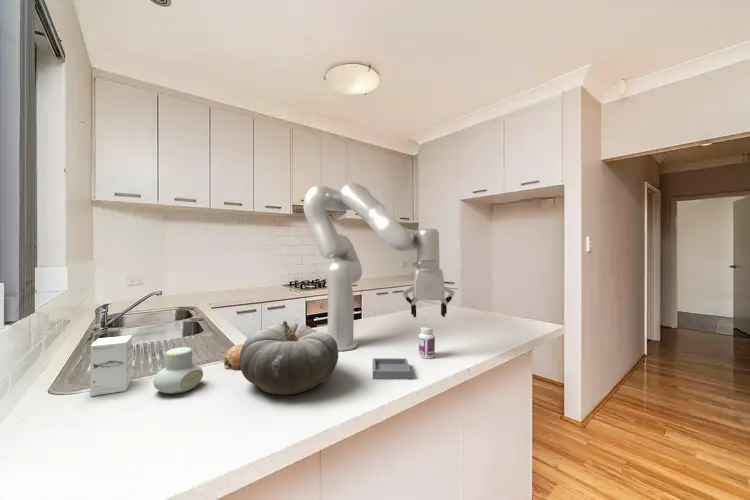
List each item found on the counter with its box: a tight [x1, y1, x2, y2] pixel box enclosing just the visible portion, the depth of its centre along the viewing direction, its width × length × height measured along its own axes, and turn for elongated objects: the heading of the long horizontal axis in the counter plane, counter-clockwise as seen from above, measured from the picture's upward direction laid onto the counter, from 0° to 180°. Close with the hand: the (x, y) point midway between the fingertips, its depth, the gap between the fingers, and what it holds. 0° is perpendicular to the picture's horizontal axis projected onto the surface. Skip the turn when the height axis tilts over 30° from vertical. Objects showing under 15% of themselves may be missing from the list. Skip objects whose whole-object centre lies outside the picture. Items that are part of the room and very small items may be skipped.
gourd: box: [240, 320, 339, 396], centre depth 89 cm, size 25×25×17 cm
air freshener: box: [152, 346, 204, 395], centre depth 85 cm, size 11×8×10 cm
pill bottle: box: [418, 326, 436, 360], centre depth 112 cm, size 5×5×10 cm
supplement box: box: [89, 335, 133, 397], centre depth 85 cm, size 7×7×13 cm
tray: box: [372, 357, 412, 380], centre depth 98 cm, size 11×11×2 cm
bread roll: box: [223, 343, 244, 371], centre depth 103 cm, size 10×10×8 cm
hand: (428, 316), depth 112 cm, fingers open, 9 cm apart
